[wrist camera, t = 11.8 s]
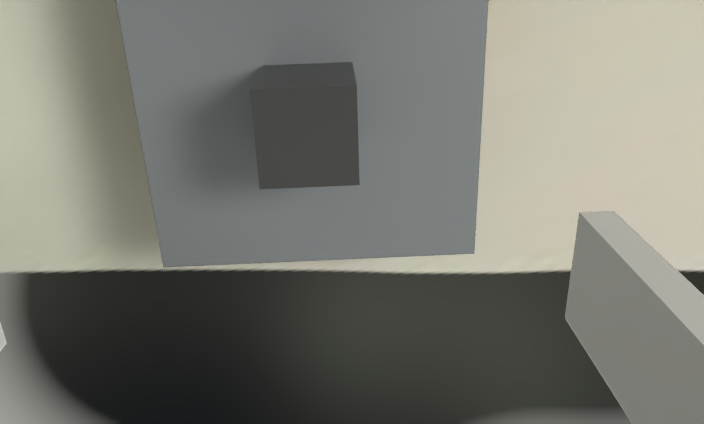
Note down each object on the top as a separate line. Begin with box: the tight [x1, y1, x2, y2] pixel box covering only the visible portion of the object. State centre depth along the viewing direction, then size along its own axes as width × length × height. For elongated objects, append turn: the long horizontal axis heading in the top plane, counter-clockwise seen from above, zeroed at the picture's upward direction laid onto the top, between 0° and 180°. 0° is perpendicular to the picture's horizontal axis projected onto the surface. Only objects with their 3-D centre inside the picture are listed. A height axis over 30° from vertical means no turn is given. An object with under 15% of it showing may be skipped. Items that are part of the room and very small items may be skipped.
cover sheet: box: [116, 0, 488, 267], centre depth 26 cm, size 16×16×6 cm
